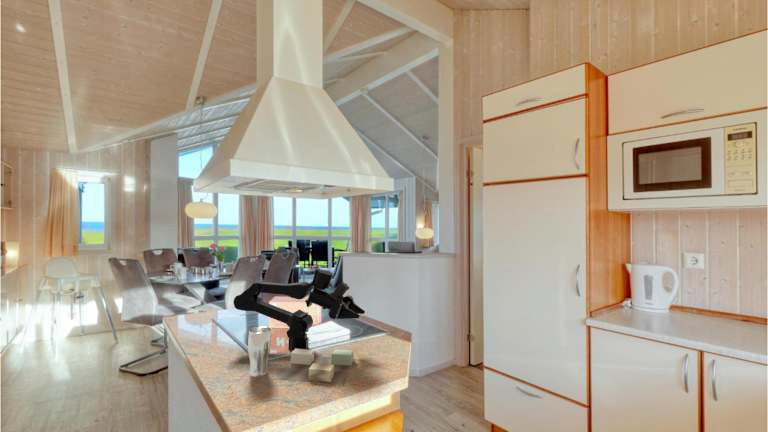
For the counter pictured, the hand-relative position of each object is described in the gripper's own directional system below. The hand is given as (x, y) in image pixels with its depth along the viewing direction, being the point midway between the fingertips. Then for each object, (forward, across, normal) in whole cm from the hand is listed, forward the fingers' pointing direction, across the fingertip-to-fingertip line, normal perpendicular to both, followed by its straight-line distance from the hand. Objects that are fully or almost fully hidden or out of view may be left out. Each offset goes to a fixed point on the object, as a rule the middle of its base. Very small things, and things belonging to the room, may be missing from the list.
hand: (361, 314), depth 133 cm
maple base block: (-3, -20, +19) cm, 27 cm away
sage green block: (0, -7, +16) cm, 18 cm away
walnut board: (-6, -13, +20) cm, 25 cm away
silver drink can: (-22, -21, +26) cm, 40 cm away
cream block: (-13, -10, +21) cm, 26 cm away
